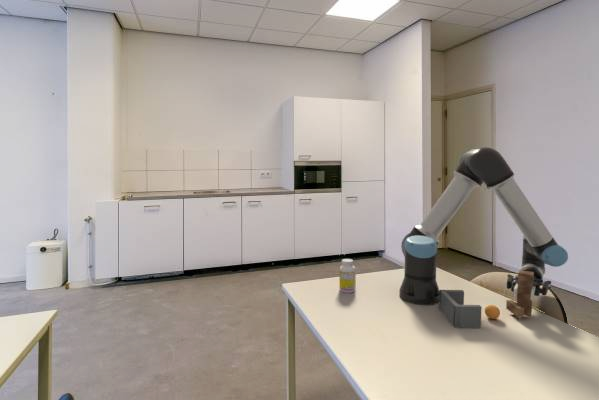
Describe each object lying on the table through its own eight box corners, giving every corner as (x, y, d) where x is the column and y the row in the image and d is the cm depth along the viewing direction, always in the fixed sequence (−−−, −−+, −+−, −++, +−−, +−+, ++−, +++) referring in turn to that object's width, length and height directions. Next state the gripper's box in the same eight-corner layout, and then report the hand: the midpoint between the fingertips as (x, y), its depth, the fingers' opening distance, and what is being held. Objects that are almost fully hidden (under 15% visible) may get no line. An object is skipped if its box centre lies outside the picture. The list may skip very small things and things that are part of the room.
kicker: (503, 313, 116) (505, 273, 115) (506, 307, 122) (508, 268, 121) (529, 319, 112) (531, 277, 111) (531, 312, 118) (533, 272, 116)
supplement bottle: (344, 286, 149) (344, 257, 148) (358, 289, 145) (358, 259, 144) (336, 291, 143) (336, 260, 142) (350, 294, 140) (351, 263, 138)
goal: (438, 308, 125) (439, 289, 124) (461, 308, 124) (462, 290, 124) (454, 327, 110) (455, 306, 109) (480, 328, 109) (481, 306, 109)
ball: (482, 315, 119) (482, 302, 118) (495, 315, 119) (496, 303, 118) (488, 321, 114) (488, 308, 114) (502, 321, 114) (503, 308, 114)
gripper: (558, 290, 126) (555, 312, 107) (503, 281, 136) (493, 299, 118) (559, 270, 125) (556, 288, 107) (504, 262, 135) (494, 278, 117)
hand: (523, 294), depth 112 cm, fingers closed on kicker, 4 cm apart
